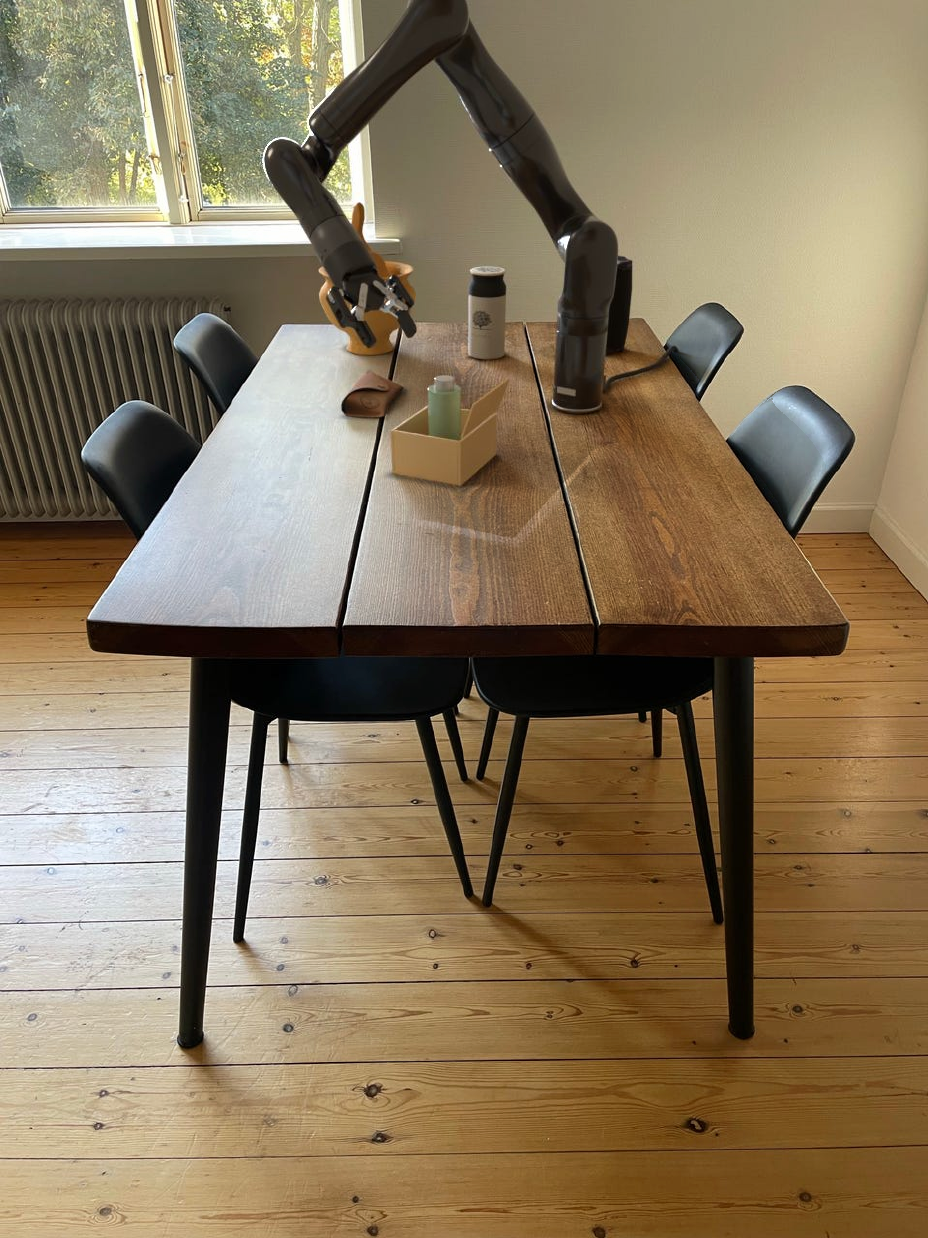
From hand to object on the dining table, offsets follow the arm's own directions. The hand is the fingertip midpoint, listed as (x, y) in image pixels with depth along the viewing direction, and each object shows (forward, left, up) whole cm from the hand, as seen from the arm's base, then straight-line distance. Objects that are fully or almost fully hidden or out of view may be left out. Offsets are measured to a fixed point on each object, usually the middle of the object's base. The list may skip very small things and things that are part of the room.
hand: (393, 339), depth 147 cm
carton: (+4, +11, -18) cm, 21 cm away
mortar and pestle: (-51, -34, -18) cm, 64 cm away
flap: (+4, +18, -7) cm, 20 cm away
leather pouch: (-19, -15, -18) cm, 30 cm away
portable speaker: (-72, +15, -18) cm, 76 cm away
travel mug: (-57, -8, -18) cm, 60 cm away
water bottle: (+4, +11, -18) cm, 21 cm away
